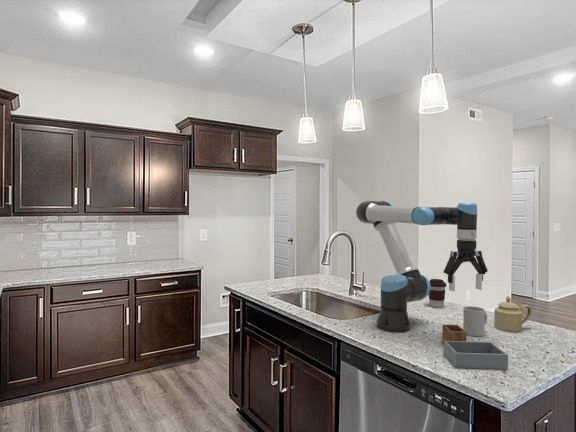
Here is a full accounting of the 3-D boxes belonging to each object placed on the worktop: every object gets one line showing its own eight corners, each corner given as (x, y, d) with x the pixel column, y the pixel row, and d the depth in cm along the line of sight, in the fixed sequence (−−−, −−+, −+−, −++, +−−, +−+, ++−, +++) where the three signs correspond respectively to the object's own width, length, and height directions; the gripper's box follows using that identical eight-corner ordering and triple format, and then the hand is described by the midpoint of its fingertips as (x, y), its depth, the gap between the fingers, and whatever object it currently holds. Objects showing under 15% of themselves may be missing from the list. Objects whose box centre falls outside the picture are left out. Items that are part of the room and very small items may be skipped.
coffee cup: (440, 309, 207) (441, 282, 206) (423, 306, 214) (424, 279, 214) (449, 306, 213) (449, 280, 213) (432, 303, 221) (432, 277, 220)
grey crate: (455, 367, 132) (455, 353, 132) (443, 353, 145) (443, 340, 144) (507, 369, 131) (508, 354, 131) (491, 355, 143) (491, 342, 143)
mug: (475, 337, 163) (475, 312, 162) (458, 331, 170) (459, 307, 170) (494, 334, 168) (494, 309, 168) (477, 328, 175) (477, 304, 175)
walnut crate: (450, 350, 148) (450, 331, 148) (442, 342, 157) (442, 324, 157) (466, 351, 148) (466, 332, 147) (457, 343, 157) (457, 324, 156)
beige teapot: (508, 322, 185) (509, 291, 184) (532, 329, 175) (533, 296, 174) (488, 326, 178) (489, 294, 177) (512, 334, 168) (512, 300, 168)
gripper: (447, 240, 153) (446, 293, 154) (497, 239, 160) (496, 290, 161) (435, 239, 160) (434, 289, 161) (484, 238, 167) (482, 286, 168)
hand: (465, 289), depth 161 cm, fingers open, 13 cm apart
